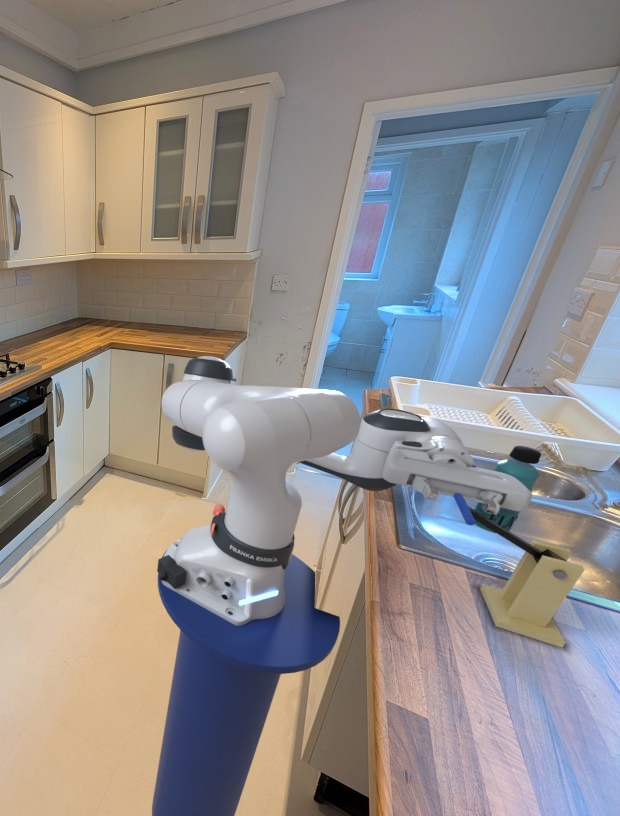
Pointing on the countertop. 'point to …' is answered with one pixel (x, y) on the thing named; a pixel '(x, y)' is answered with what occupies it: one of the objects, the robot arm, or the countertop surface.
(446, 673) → the countertop surface
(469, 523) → the lever
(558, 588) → the switch bracket
